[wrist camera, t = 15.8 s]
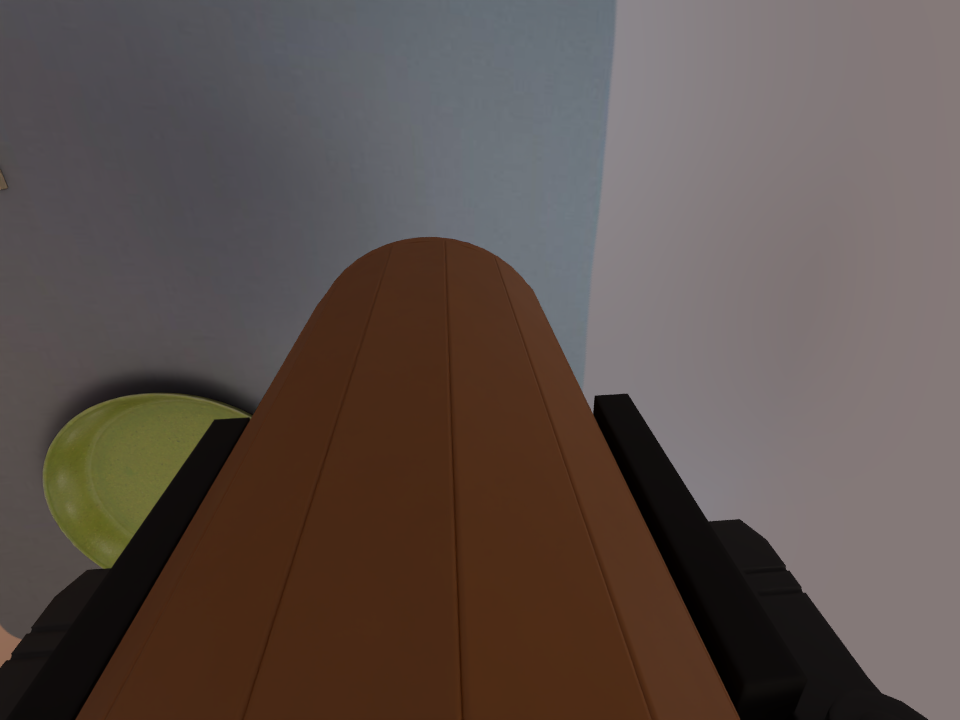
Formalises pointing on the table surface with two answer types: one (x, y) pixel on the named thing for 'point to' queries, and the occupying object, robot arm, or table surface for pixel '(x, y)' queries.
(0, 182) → the cream button plate
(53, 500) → the green plate
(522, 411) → the brown bottle
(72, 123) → the table surface
